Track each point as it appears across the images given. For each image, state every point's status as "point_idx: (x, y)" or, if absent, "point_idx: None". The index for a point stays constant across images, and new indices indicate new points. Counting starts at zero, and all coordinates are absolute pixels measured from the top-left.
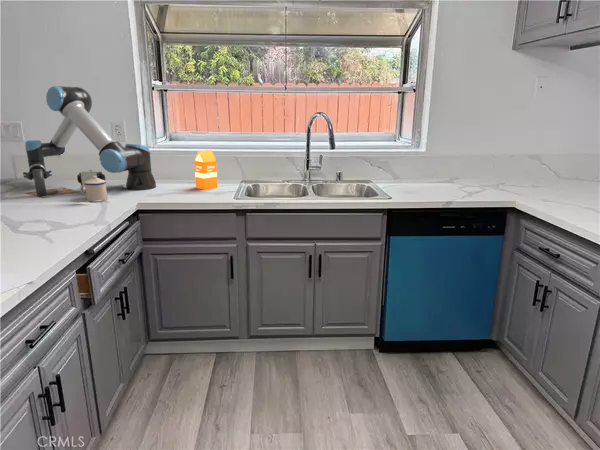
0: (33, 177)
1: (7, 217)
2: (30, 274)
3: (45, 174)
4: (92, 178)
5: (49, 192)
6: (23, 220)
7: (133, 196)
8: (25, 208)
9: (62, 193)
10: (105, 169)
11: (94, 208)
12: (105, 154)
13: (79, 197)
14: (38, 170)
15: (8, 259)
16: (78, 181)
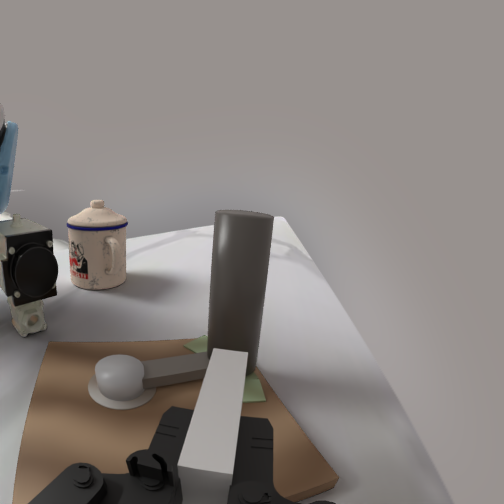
0: (270, 434)
1: (320, 277)
2: None
3: (82, 470)
4: (103, 207)
5: (189, 355)
6: (287, 261)
7: None
8: (293, 303)
9: None
10: (4, 203)
11: (150, 256)
12: (15, 139)
13: (100, 320)
14: (241, 211)
15: (288, 226)
16: (55, 279)
